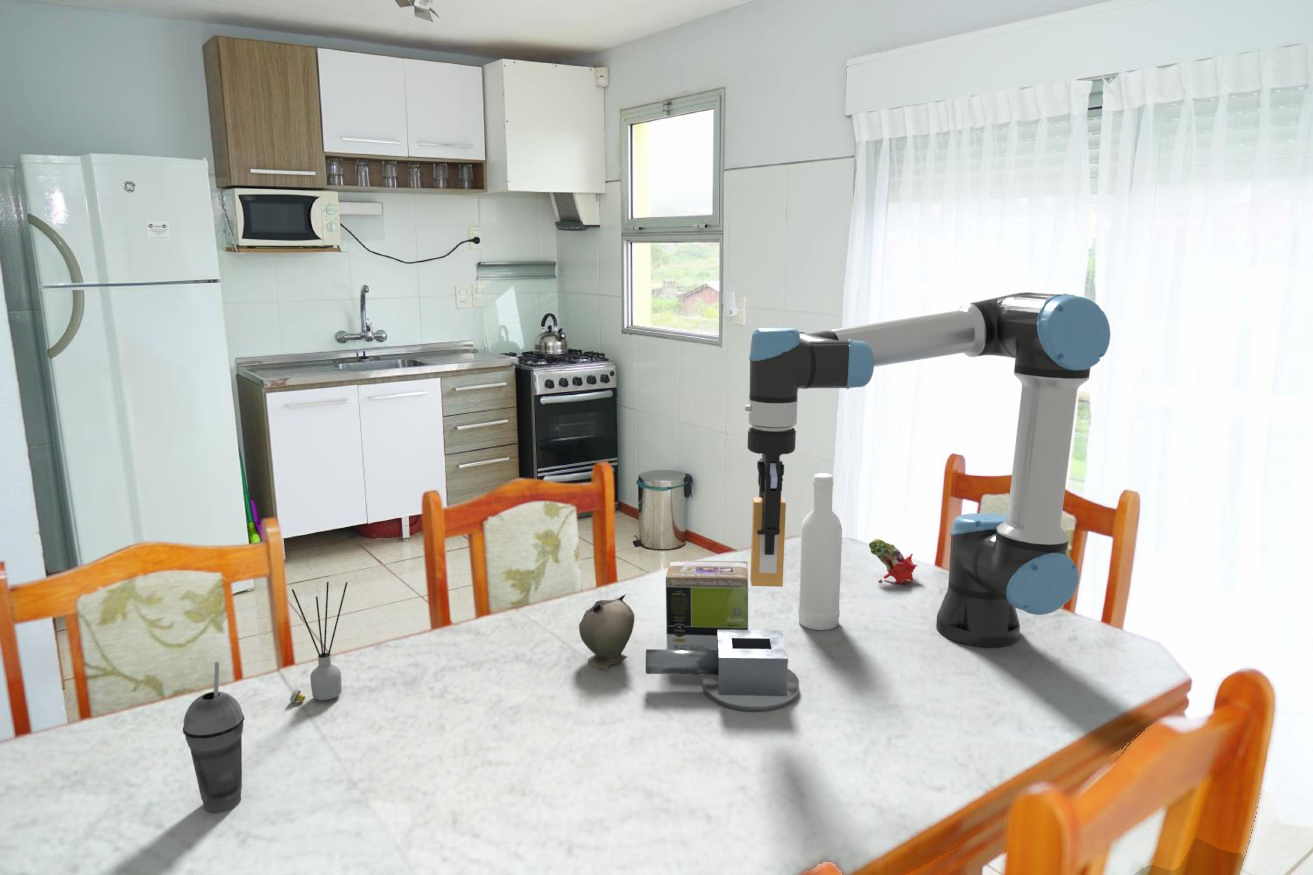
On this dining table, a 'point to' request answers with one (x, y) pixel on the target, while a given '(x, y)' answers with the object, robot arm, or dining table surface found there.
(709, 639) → the tea box
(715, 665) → the bracket head
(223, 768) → the beverage cup
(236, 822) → the dining table surface
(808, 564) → the bottle
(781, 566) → the tan wooden beam
